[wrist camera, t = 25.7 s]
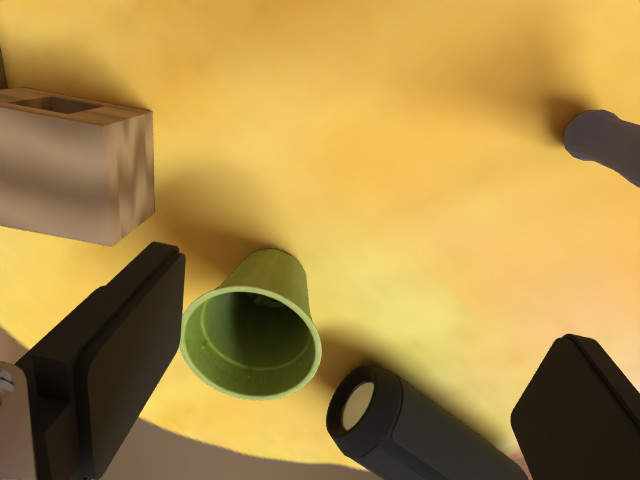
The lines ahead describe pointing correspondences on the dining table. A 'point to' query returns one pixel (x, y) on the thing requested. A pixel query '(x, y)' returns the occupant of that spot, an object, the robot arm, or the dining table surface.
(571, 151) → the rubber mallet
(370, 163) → the dining table surface
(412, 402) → the portable speaker
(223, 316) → the plant pot
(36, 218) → the slotted wooden block
